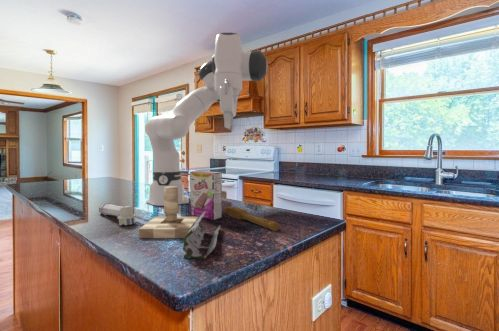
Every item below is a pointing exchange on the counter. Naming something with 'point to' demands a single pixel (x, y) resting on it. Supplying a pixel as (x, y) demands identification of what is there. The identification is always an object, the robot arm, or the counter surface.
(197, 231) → the grey angled channel
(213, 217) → the candy bar box
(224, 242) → the counter surface
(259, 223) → the tap handle
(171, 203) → the peg
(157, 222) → the board
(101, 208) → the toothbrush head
